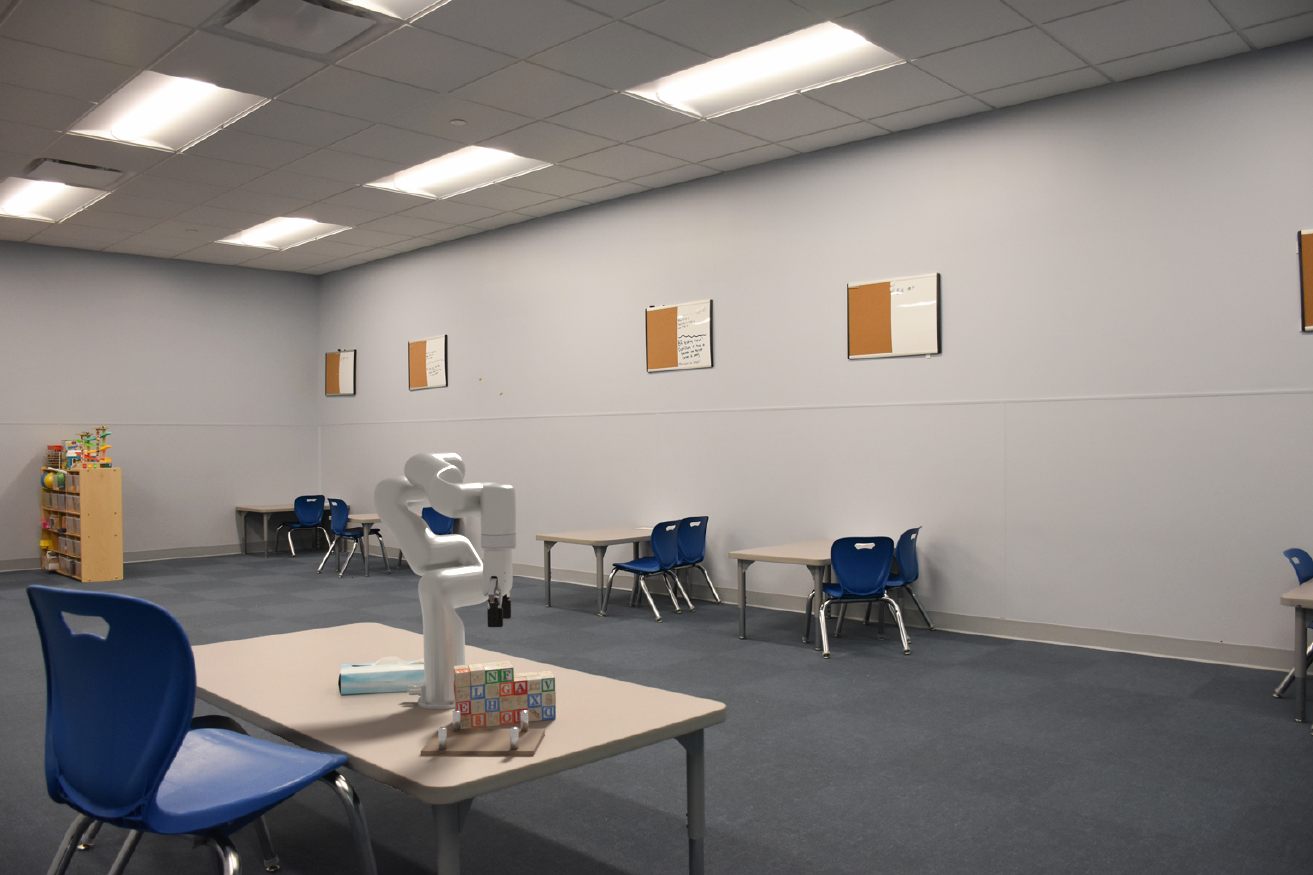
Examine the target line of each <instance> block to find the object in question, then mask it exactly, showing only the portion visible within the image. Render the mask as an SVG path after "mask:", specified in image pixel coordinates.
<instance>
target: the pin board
mask: <svg viewBox="0 0 1313 875" xmlns="http://www.w3.org/2000/svg"><path fill="white" fill-rule="evenodd" d="M519 724H520V726H519V727H520V728H519V727H518V726H511V727H510V728H464V729H461V711H460V710H455V709H454V710H452V728H448V727H447V726H440V727H438V729H437V731H436V732H435V733H434V735H433V736H432V737H431V738H430V739H429V740H428V741H427V743H426V744H425V745H424V746H423V747H422V749H420V756H478V757H479V756H480V757H481V756H492V757H494V756H497V757H498V756H501V757H502V756H505V757H507V756H510V757H514V756H515V757H516V756H527V757H529V756H531V757H534V756H535V755H536V754H537V752H538V749H539V748H540V745H541V744H542V742H543V740H544V738H545V736H546V728H529V722H528V710H521V711H520V723H519Z"/></svg>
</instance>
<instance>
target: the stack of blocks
mask: <svg viewBox="0 0 1313 875" xmlns="http://www.w3.org/2000/svg"><path fill="white" fill-rule="evenodd" d="M556 694H557V693H556V678H555V675H554V674H553V672H552V671H551V670H544V671H543V670H542V671H530V672H518V673H515V672H514V666H513V664H512V663H511V661H510V660H504V661H494V662H493V661H492V662H490V661H489V662H483V663H474V664H472V663H471V664H465V665H460V666H454V700H455V708H454V710H460V711H461V729H477V728H483V727H484V728H485V727H495V726H500V725H501V726H502V725H512V724H520V711H521V710H528V723H531V722H538V721H549V720H556V718H557V715H556V714H557V713H556V712H557V711H556V709H557V708H556V705H557V703H556V702H557V701H556V700H557V698H556V697H557V696H556Z"/></svg>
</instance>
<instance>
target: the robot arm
mask: <svg viewBox="0 0 1313 875" xmlns="http://www.w3.org/2000/svg"><path fill="white" fill-rule="evenodd" d="M403 474H404V475H403ZM403 474H400V475H393V476H389V477H385V478H383V479H381V480H380V481H378V482H377V484H375V487H374V491H373V503H374V508H375V511H376V513H377V516H378V518H379V520H380V521H381V523H382V525H383V526H384V527H385V529H386V530H387V531H388V532H389V533H390V534H391V535H392V537H393V538H394V539H395V541H396V543H397V545H398V547H399V549H400V551H401V553H402V554H403V556H404V558H405V560H406V562H407V564H408V565H409V567H410V569H411V571H413V573H414V574H415V575H418V576H419V577H420V576H421V577H420V579H419V582H418V585H417V591H418V592H417V593H418V598H419V599H418V600H419V602H420V603H419V604H420V608H421V615H422V627H423V628H422V635H423V637H422V638H423V678H424V679H423V682H424V683H421V684H420V685H417V684H407V686H406V692H407V694H408V695H409V696H419V697H418V699H417V705H418V707H420V708H421V709H427V710H428V709H429V710H450V709H455V700H454V666H460V665H466V637H465V636H466V634H465V632H466V631H465V630H466V629H465V624H464V621H463V620H462V618H461V617H460V616H459V615H458V613H457V612H456V610H455V609H458V608H462V607H467V606H468V607H469V606H475V605H479V604H483V603H484V602H486V601H487V611H486V612H487V627H488V628H502V627H503V626H504V620H506V619H507V620H509V619H511V617H512V601H511V599H512V598H511V590H512V589H513V582H514V581H513V580H514V579H513V578H514V577H513V576H514V575H513V574H514V573H513V571H514V569H513V551H512V550H515V549H517V518H516V517H517V516H516V513H517V510H516V509H517V508H516V506H517V505H516V490H515V487H514V486H513V485H511V484H503V483H502V484H499V483H497V482H492V481H482V482H481V481H479V482H464V479H465V476H466V465H465V462H464V460H463V458H462V457H461V456H460V455H459V454H457V453H455V452H451V451H446V452H445V451H444V452H442V451H441V452H437V451H436V452H421V453H416V454H413V455H412V456H410V457H409V458H408V459H407V460H406V461H405V463H404V467H403ZM420 508H432V509H433V510H434V511H435V512H437V513H439V514H441V515H443V516H445V517H447V518H452V519H463V518H472V517H474V518H475V517H480V550H483V560H482V558H481V557H480V555H479V554H478V552H477V550H476V549H475V547H474V545H473V544H472V543H471V541H470V540H469V539H468V538H467V537H466V536H464V535H462V534H457V533H454V534H453V533H452V534H442V535H439V534H435V533H434V532H433V531H432V530H431V528H430V526H429V525H428V522H426V520H425V519H423V518H422V516H420V515H418V514H417V513H415V512H413V511H412V510H411V509H420Z"/></svg>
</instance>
